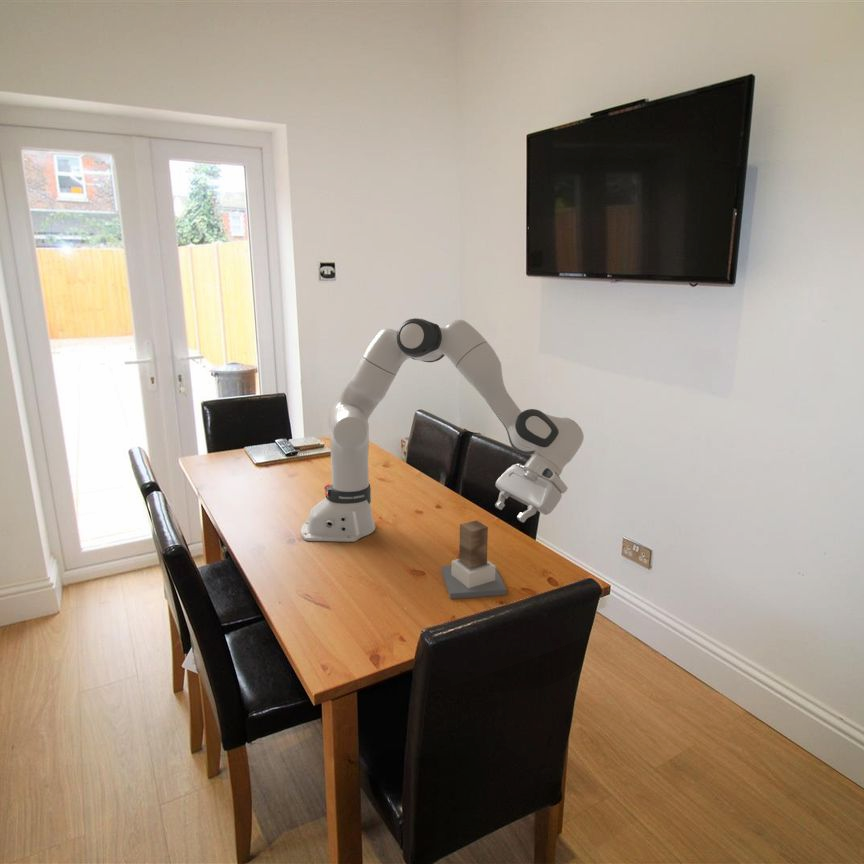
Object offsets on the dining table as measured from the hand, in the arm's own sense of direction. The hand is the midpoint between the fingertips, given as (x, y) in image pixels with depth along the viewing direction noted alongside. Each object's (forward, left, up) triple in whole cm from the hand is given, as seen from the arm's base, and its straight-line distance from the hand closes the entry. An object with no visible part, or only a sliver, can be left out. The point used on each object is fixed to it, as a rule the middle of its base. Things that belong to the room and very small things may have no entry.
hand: (508, 513), depth 160 cm
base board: (-10, -6, -16) cm, 20 cm away
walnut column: (-10, -6, -10) cm, 16 cm away
